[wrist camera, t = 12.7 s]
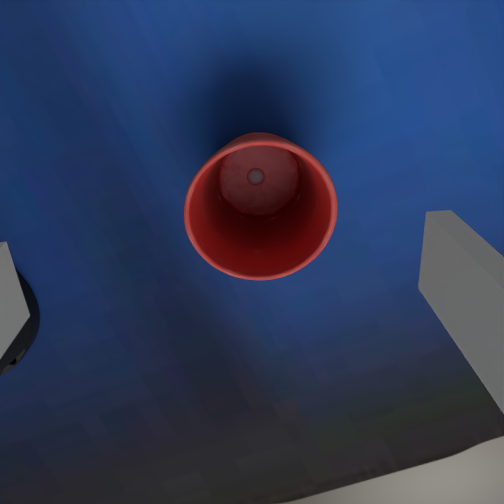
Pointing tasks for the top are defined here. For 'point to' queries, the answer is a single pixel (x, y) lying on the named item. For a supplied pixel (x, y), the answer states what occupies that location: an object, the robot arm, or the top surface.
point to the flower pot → (260, 207)
